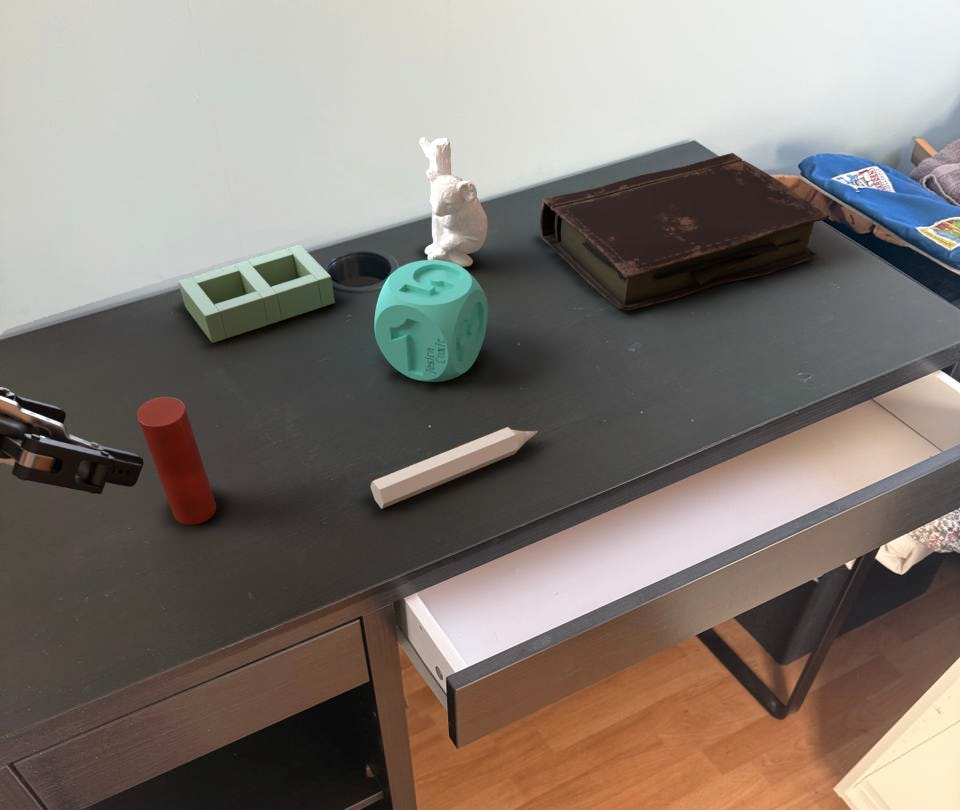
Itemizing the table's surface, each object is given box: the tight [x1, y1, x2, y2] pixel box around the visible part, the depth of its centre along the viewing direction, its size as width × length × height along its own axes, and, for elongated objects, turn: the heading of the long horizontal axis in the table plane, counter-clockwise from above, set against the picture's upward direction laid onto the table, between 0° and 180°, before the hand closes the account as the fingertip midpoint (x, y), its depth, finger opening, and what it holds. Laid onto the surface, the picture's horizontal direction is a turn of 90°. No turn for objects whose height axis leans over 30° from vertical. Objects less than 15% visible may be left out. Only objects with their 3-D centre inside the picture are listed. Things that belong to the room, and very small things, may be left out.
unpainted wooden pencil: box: [370, 426, 539, 510], centre depth 77 cm, size 3×2×16 cm
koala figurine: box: [418, 136, 489, 268], centre depth 94 cm, size 8×7×12 cm
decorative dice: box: [373, 259, 489, 383], centre depth 84 cm, size 8×8×8 cm
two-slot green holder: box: [177, 244, 336, 344], centre depth 92 cm, size 14×8×3 cm, turn 122°
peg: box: [136, 396, 217, 526], centre depth 71 cm, size 4×4×10 cm
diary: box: [539, 152, 830, 311], centre depth 98 cm, size 19×25×5 cm
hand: (97, 446), depth 64 cm, fingers open, 8 cm apart
